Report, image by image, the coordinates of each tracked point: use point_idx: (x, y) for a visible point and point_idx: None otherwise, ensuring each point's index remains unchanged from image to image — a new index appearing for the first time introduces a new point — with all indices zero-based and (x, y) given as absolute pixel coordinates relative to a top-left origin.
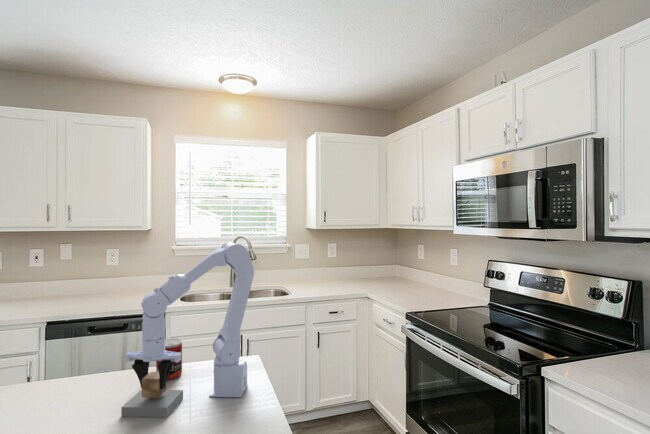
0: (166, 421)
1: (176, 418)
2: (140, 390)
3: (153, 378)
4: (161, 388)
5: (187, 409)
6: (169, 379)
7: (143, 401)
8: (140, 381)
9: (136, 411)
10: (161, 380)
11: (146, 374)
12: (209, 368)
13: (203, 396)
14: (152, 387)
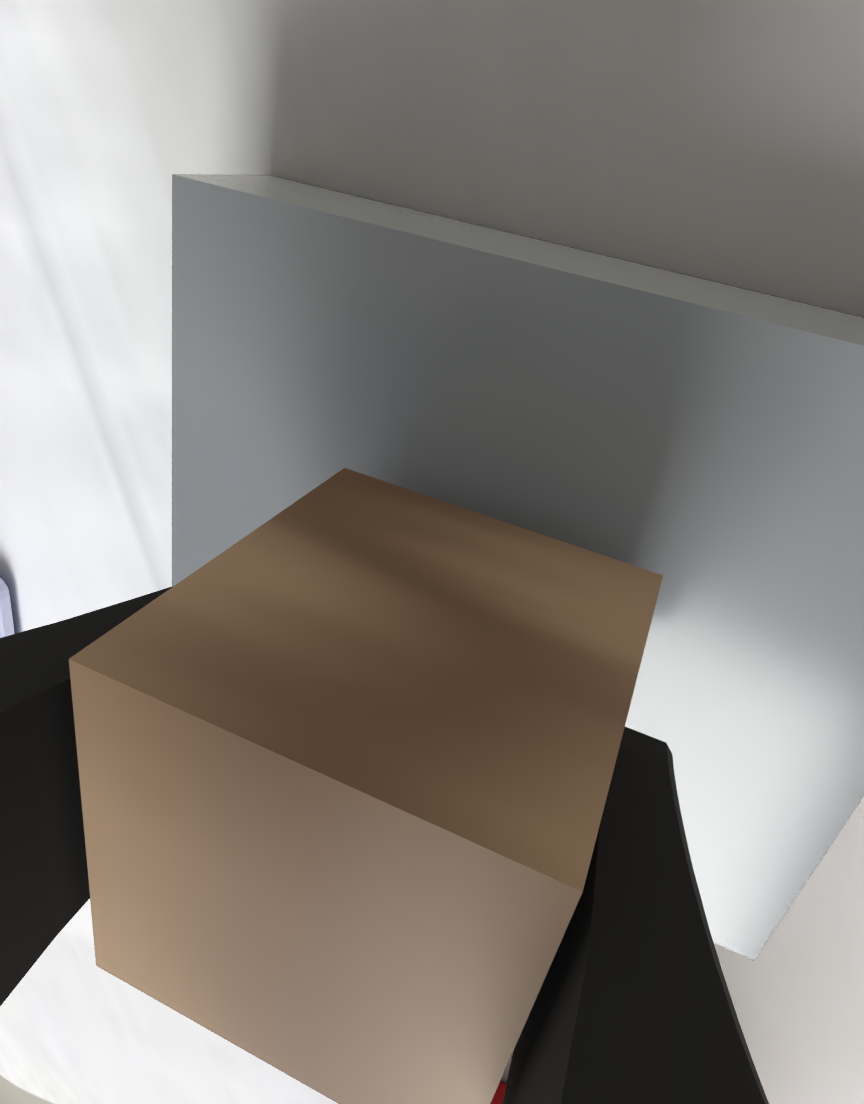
0: (239, 52)
1: (144, 131)
2: (771, 933)
3: (220, 757)
4: None
5: (108, 363)
6: (499, 1087)
7: (640, 534)
8: (667, 873)
9: (740, 300)
10: (62, 639)
11: (514, 1092)
12: (212, 1081)
13: (69, 615)
14: (361, 601)
